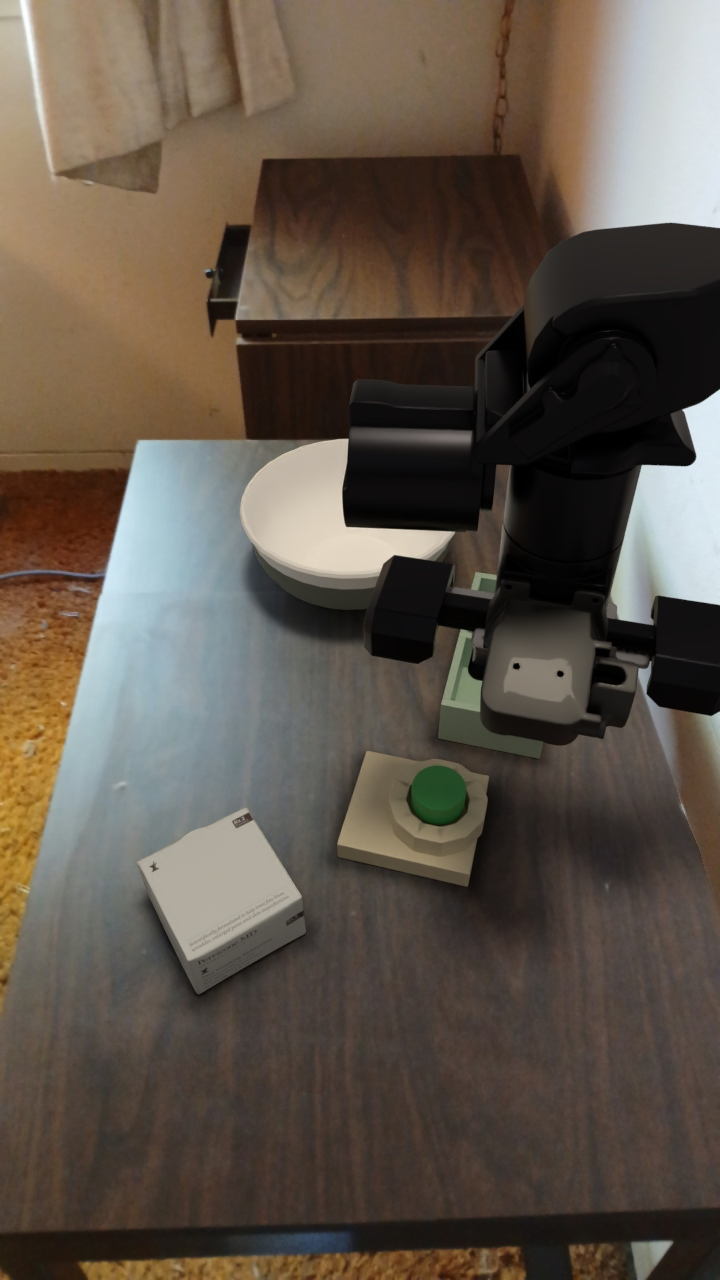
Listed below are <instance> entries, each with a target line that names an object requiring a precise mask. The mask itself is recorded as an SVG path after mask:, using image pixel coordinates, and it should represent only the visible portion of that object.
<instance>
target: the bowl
mask: <svg viewBox="0 0 720 1280" xmlns="http://www.w3.org/2000/svg"><path fill="white" fill-rule="evenodd" d="M347 454H348V438H337V439H331V440H330V439H329V440H323V441H317V442H313V443H309V444H306V445H302V446H298V447H296V448H294V449H292V450H290V451H287V452H285V453H283V454H280V455H279V456H278V457H276V458H274V459H273V460H271V461H269V462H268V463H266V464H265V465H264V466H263V467H262V468H260V469H259V470H258V471H257V472H256V473H255V474H254V476H253V477H252V478H251V480H250V481H249V482H248V484H247V485H246V486H245V489H244V492H243V493H242V497H241V499H240V504H239V505H240V506H239V517H240V522H241V527H242V529H243V531H244V533H245V534H246V536H247V538H248V540H249V541H250V542H251V544H252V546H253V548H254V552H255V556H256V558H257V560H258V562H259V564H260V565H261V567H262V569H263V570H264V571H265V572H266V574H267V575H268V576H270V577H271V579H272V580H273V581H274V582H275V583H276V584H277V585H279V587H280V588H282V589H283V590H284V591H286V592H287V593H288V594H290V595H292V597H294V598H297V599H299V600H301V601H303V602H305V603H308V604H310V605H314V606H317V607H318V606H319V607H322V608H325V609H326V608H327V609H334V610H342V611H343V610H345V611H349V610H351V611H353V610H367V607H368V605H369V602H370V599H371V596H372V594H373V591H374V588H375V585H376V583H377V580H378V577H379V575H380V572H381V569H382V566H383V564H384V563H385V562H386V561H387V560H389V559H390V558H391V557H392V556H393V555H398V556H405V557H411V558H418V559H424V560H431V561H437V562H444V561H445V558H446V556H447V554H448V552H449V548H450V543H451V539H452V538H453V537H454V535H455V534H456V532H450V531H427V530H403V529H380V528H356V527H346V525H345V522H344V516H343V502H342V488H343V482H344V476H345V471H346V465H347Z"/></svg>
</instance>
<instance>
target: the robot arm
mask: <svg viewBox="0 0 720 1280" xmlns="http://www.w3.org/2000/svg"><path fill="white" fill-rule="evenodd" d="M523 297H524V298H523V304H522V305H521V306H520V307H519V309H518V310H517V311H516V312H515V313H514V314H513V315H512V316H511V318H510V319H509V320H508V321H506V323H505V324H504V325H503V326H502V327H501V329H500V330H499V331H498V332H497V333H496V334H495V335H494V336H493V337H492V338H491V339H490V341H488V343H486V345H484V347H483V348H482V349H481V350H480V351H479V353H477V355H476V356H475V359H474V383H473V386H467V385H466V386H464V385H463V386H462V385H433V384H432V385H431V384H427V385H426V384H402V383H396V382H394V381H393V382H392V381H388V380H384V379H383V380H382V379H367V378H365V379H363V378H362V379H361V378H358V379H356V380H355V381H354V382H353V384H352V388H351V394H350V399H349V403H348V416H349V417H348V418H349V419H348V420H349V427H348V438H347V439H348V454H347V465H346V471H345V476H344V482H343V488H342V502H343V516H344V522H345V525H346V527H356V528H380V529H403V530H427V531H450V532H455V533H467V532H478V531H479V522H480V515H481V513H480V512H492V510H493V505H494V499H495V498H494V497H495V486H496V476H497V465H498V466H509V469H508V475H507V476H508V477H507V478H508V479H507V486H506V494H505V503H504V511H503V518H502V528H501V534H500V535H501V536H500V544H499V553H498V560H497V561H498V562H497V570H496V575H497V578H496V586H495V593H490V592H484V591H478V590H471V588H464V587H460V586H459V587H458V586H454V583H455V580H456V579H455V578H456V577H455V576H456V564H454V563H451V562H444V561H443V562H437V561H431V560H424V559H418V558H411V557H405V556H398V555H393V556H392V557H391V558H390V559H389V560H387V561H386V562H385V563H384V564H383V566H382V569H381V572H380V575H379V577H378V580H377V583H376V585H375V588H374V591H373V594H372V596H371V599H370V602H369V605H368V607H367V609H365V616H364V621H363V647H364V649H365V650H366V651H367V652H368V654H369V655H370V656H371V657H377V658H381V659H388V660H393V661H398V662H403V663H411V664H415V665H419V664H421V663H423V662H426V661H428V660H429V659H431V658H433V657H434V654H435V650H436V637H437V633H438V630H439V627H444V628H450V629H456V630H460V629H461V630H467V631H472V638H471V641H472V648H473V649H472V653H471V657H470V661H469V665H468V673H469V675H470V676H471V677H472V678H473V679H475V680H479V681H482V686H481V696H480V719H481V722H482V724H483V726H484V727H485V728H486V729H487V730H488V731H490V732H492V733H495V734H499V735H504V736H507V735H510V736H516V737H521V738H527V739H532V740H537V741H542V742H543V743H545V744H548V745H551V746H559V747H562V746H567V745H569V744H571V743H573V742H574V741H575V740H576V739H577V738H578V736H584V737H589V738H595V739H596V738H597V739H601V740H604V738H605V735H606V729H607V727H613V728H619V729H623V728H624V727H625V726H626V725H627V722H628V720H629V718H630V715H631V710H632V707H633V704H634V700H635V697H636V693H637V686H638V678H639V670H640V669H642V670H646V669H648V668H649V666H650V665H651V666H650V675H649V678H648V681H647V684H646V695H647V697H649V699H650V700H651V701H652V702H653V703H654V704H656V706H657V707H659V708H663V709H669V710H675V711H682V712H686V713H692V714H697V715H703V716H708V717H713V716H715V715H716V714H718V713H720V604H717V603H711V602H710V603H709V602H703V601H697V600H691V599H684V598H679V597H670V596H664V595H656V596H654V599H653V602H652V606H651V609H650V618H651V620H652V621H653V622H652V623H653V624H648V623H643V622H636V621H630V620H623V619H618V618H617V614H618V605H617V604H615V603H613V602H609V601H610V597H611V594H612V589H613V585H614V581H615V577H616V574H617V573H616V572H617V569H618V565H619V560H620V557H621V552H622V548H623V544H624V540H625V536H626V532H627V527H628V524H629V519H630V516H631V512H632V508H633V503H634V499H635V495H636V491H637V487H638V483H639V478H640V475H641V471H642V467H643V466H657V467H658V466H660V467H661V466H662V467H685V468H686V467H689V466H692V465H693V464H694V463H695V462H696V461H697V453H696V449H695V444H694V441H693V437H692V435H691V431H690V426H689V423H688V419H687V416H686V413H685V411H684V410H686V409H688V408H691V407H694V406H697V405H699V404H701V403H703V402H704V401H706V400H707V399H709V398H710V397H712V396H713V395H715V394H716V393H718V391H720V227H715V226H706V225H699V224H688V223H681V222H680V223H679V222H662V223H651V224H650V223H649V224H640V225H630V226H619V227H610V228H609V227H608V228H599V229H597V228H596V229H592V230H585V231H582V232H580V233H577V234H575V235H573V236H571V237H568V238H566V239H563V240H561V241H560V242H558V243H557V244H556V245H554V246H553V247H551V249H549V250H548V251H547V252H546V254H545V256H544V258H543V259H542V260H541V262H540V263H539V265H538V267H537V268H536V269H535V271H534V272H533V274H532V275H531V276H530V278H529V281H528V284H527V288H526V291H525V294H524V296H523Z"/></svg>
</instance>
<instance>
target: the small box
mask: <svg viewBox="0 0 720 1280" xmlns="http://www.w3.org/2000/svg"><path fill="white" fill-rule="evenodd" d="M136 866H137V868H138V870H139V873H140V876H141V879H142V881H143V885H144V887H145V890H146V892H147V895H148V897H149V899H150V901H151V903H152V906H153V908H154V910H155V912H156V914H157V916H158V918H159V921H160V923H161V925H162V928H163V929H164V931H165V933H166V935H167V937H168V939H169V941H170V943H171V946H172V948H173V950H174V952H175V954H176V956H177V958H178V960H179V962H180V964H181V966H182V968H183V970H184V972H185V974H186V976H187V979H188V980H189V982H190V984H191V986H192V988H193V990H194V992H195V994H197V995H201V994H203V993H204V992H206V991H208V990H209V989H211V988H212V987H214V986H216V985H217V984H219V983H220V982H222V981H224V980H226V979H228V978H229V977H231V976H233V975H234V974H236V973H238V972H240V971H241V970H243V969H244V968H246V967H248V966H250V965H252V964H253V963H255V962H257V961H259V960H261V959H262V958H264V957H266V956H267V955H269V954H271V953H272V952H274V951H276V950H278V949H279V948H282V947H284V945H287V944H288V943H290V942H292V941H294V940H297V939H298V938H300V937H302V936H304V935H305V934H306V933H307V925H306V918H305V910H304V900H303V896H302V894H301V892H300V891H299V890H298V887H297V886H296V884H295V883H294V881H293V880H292V878H291V876H290V875H289V873H288V871H287V870H286V868H285V866H284V865H283V863H282V861H281V860H280V858H279V857H278V855H277V853H276V851H275V850H274V848H273V846H272V844H271V843H270V842H269V840H268V838H267V836H266V835H265V833H264V832H263V830H262V828H261V827H260V825H259V824H258V822H257V820H256V819H255V817H254V816H253V814H252V813H251V810H250V809H249V808H248V807H246V806H245V807H243V808H241V809H238V810H235V812H232V813H231V814H229V815H226V816H224V817H222V818H220V819H219V820H216V821H215V822H213V823H211V824H208V825H207V826H202V827H199V828H195V829H193V830H191V831H188V833H186V834H185V835H184V836H182V837H181V838H180V839H179V840H176V841H175V842H172V843H170V844H169V845H167V846H165V847H163V848H161V849H159V850H157V851H155V852H153V853H151V854H149V855H147V856H146V857H143V858H141V859H139V860H137V862H136Z"/></svg>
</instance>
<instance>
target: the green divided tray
mask: <svg viewBox="0 0 720 1280" xmlns="http://www.w3.org/2000/svg"><path fill="white" fill-rule="evenodd" d="M496 578H497V574H491V573H486V572H479V571H475V572H474V576H473V579H472V584H471V587H470V589H471V590H478V591H484V592H490V593H495V586H496ZM471 638H472V631H467V630H461V629H459V633H458V637H457V642H456V645H455V648H454V653H453V657H452V660H451V664H450V667H449V672H448V674H447V675H448V676H447V680H446V684H445V688H444V691H443V695H442V698H441V699H442V700H441V703H440V710H439V711H440V712H439V722H438V725H439V726H438V734H437V735H438V736H437V739H440V740H445V741H449V742H453V743H460V744H464V745H469V746H473V747H478V748H483V749H487V750H488V749H489V750H494V751H499V752H503V753H509V754H513V755H517V756H524V757H529V758H532V759H538V760H540V759H541V755H542V750H543V746H544V742H542V741H537V740H532V739H527V738H521V737H516V736H510V735H507V736H504V735H499V734H495V733H492V732H490V731H488V730H487V729H486V728H485V727H484V726H483V724H482V722H481V719H480V696H481V686H482V681H479V680H475V679H473V678H472V677H471V676H470V675H469V673H468V665H469V661H470V657H471V653H472V649H473V648H472V641H471Z"/></svg>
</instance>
